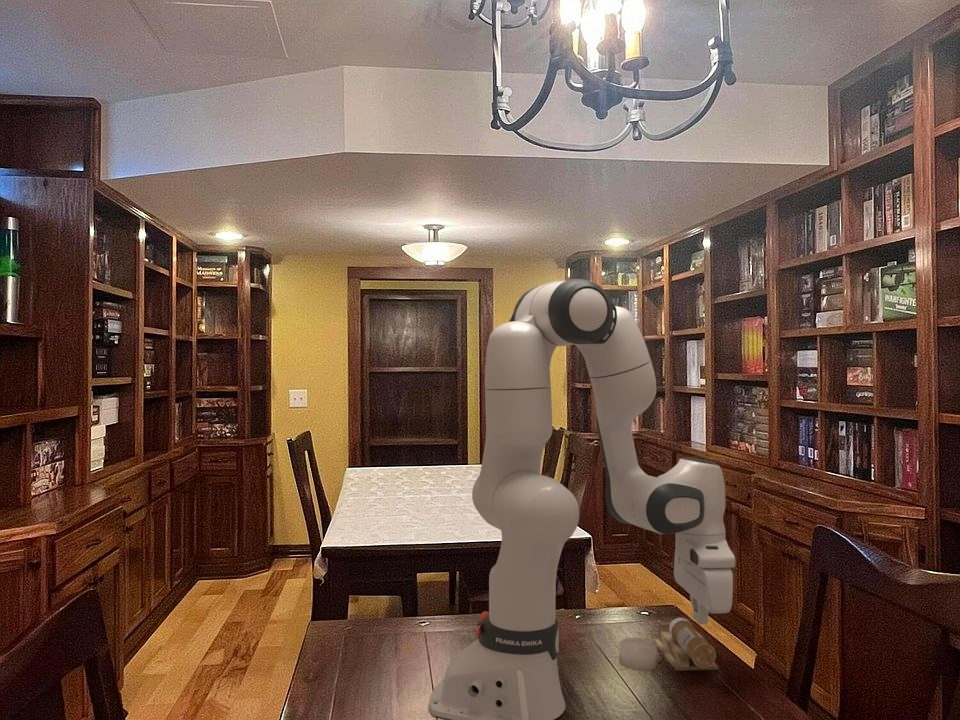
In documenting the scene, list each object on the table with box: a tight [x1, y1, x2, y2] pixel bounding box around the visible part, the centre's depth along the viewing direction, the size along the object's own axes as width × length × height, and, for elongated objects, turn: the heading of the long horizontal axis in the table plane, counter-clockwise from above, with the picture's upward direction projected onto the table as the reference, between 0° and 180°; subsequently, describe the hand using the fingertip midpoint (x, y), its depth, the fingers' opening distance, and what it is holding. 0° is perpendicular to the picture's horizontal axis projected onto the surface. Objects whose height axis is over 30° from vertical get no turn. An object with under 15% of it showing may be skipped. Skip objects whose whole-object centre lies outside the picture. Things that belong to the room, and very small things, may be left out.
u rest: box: [653, 621, 719, 671], centre depth 141 cm, size 14×8×4 cm, turn 3°
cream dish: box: [618, 637, 658, 671], centre depth 137 cm, size 7×7×4 cm
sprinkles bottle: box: [669, 617, 717, 668], centre depth 137 cm, size 5×5×14 cm
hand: (700, 621), depth 132 cm, fingers closed
